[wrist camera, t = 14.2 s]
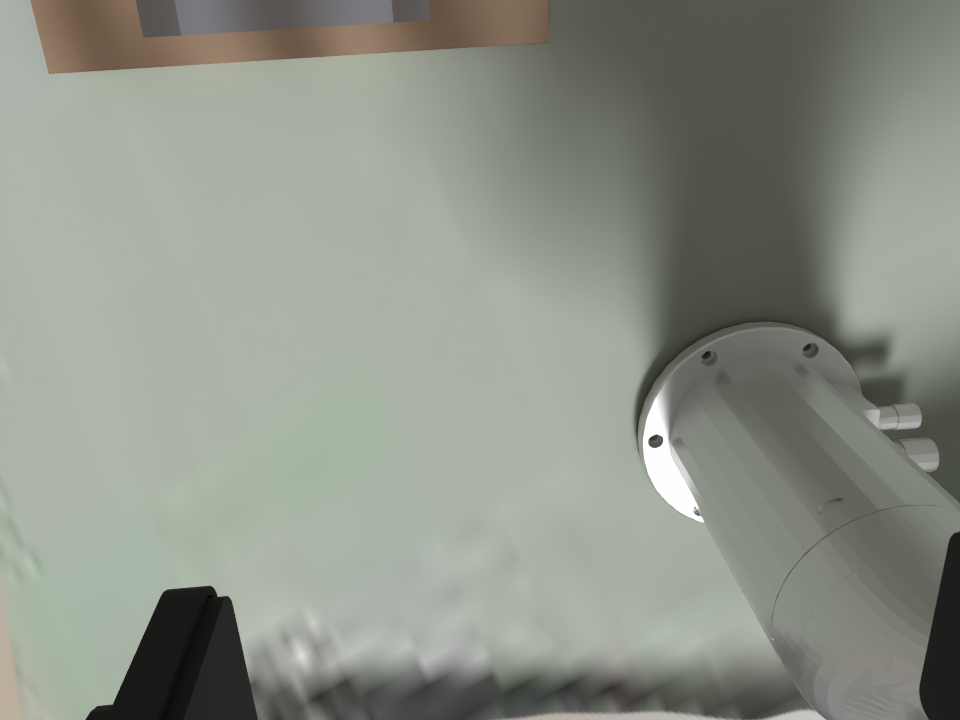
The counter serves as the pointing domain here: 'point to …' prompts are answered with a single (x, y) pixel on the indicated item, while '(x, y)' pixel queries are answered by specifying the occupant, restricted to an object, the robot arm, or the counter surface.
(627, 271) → the counter surface
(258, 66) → the counter surface
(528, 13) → the collar stand
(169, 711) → the robot arm
